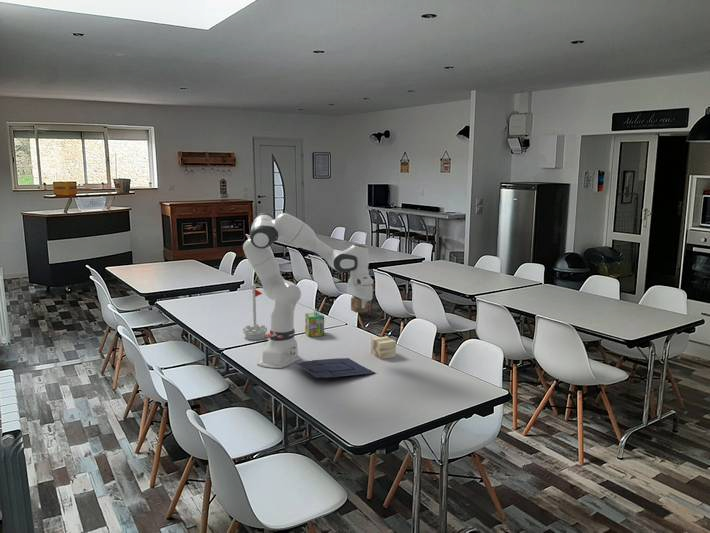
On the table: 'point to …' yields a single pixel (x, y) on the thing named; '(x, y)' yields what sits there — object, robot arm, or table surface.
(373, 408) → the table surface
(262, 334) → the flag stand
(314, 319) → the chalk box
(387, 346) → the beech block
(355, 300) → the walnut cube
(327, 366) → the folded navy cloth
